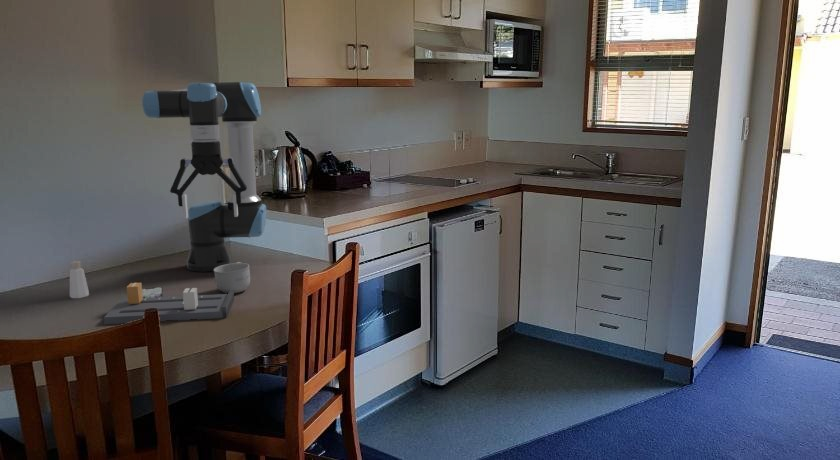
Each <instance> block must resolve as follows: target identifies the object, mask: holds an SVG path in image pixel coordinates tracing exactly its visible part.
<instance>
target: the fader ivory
mask: <svg viewBox="0 0 840 460" xmlns="http://www.w3.org/2000/svg"><path fill="white" fill-rule="evenodd" d="M197 295H198V288H197V287H187V288H184V290H183V292H182V296H183V301H184V310H192V309H196V308H197V306H198V296H197Z"/></svg>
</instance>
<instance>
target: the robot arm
mask: <svg viewBox="0 0 840 460" xmlns="http://www.w3.org/2000/svg"><path fill="white" fill-rule="evenodd" d="M258 91H259V90H258V88H257V87H256V85H255V84H254V83H252V82H244V81H237V82H235V81H233V82H231V81H229V82H228V81H227V82H226V81H225V82H223V81H222V82H213V81H212V82H190V83H188V84H187V86H186V87H184V88H183V89H172V90H170V89H169V90H146V91H144V93H143V94H142V99H141V100H142V101H141V103H142V110H143V113H144V115H145V116H146V117H148V118H151V119H152V118H156V119H165V118H166V119H167V118H168V119H171V118H173V119H174V118H189V131H190V140H192V142H191V143H190V145H191V157H192V158H191V159H187V158H182V159H180V161H179V162H180V163H179V169H178V171H177V174H176V176H175V178H174V180H173V183H172V185H171V188H170V190H169V192H170V193H171V194H175V195H176V196H177V200H178V207H182V213H183V219H185V220H186V219H187V221H188V229H189V230H188V231H189V240H190V248H189V252H188V257H187V261H186V267H187V270H189V271H191V272H198V273H200V272H203V273H205V272H206V273H207V272H214V269H215V268H216V267H218V266H221V265H225V264H231V263H232V259H231V256H230V253H229V252H228V249H227V246H226V243H225V239H231V238H248V239H250V238H258V237H261V236H262V235H263V233H264V231H265V227H266V224H267V223H266V222H267V205H266V204H264V203H262V199H261V197H260V196H259V195H258V194H257V182H256V179H257V178H256V177H257V176H256V161H255V160H256V159H255V146H254V145H255V144H254V126H255V125H256V124H257V122H258V118H259V117H261V116H262V106H261V100H260V99H261V98H260V95H259V92H258ZM219 118H221V121H222V124H224V125H225V126H226V128H227V130H226V131H227V143H228V144H227V145H228V158H223V157H222V152H221V151H222V150H221V142H220V141H219V139H220V137H221V136H220V124H219ZM223 164H225V166H226V167H228V168H229V175H230V176H228V175H227V173H226V172H225V171H224V170H223V169H222V168H221V167H222V165H223ZM190 165H191V166H192V167H193V169H194V170H193V172H191V174H190V175H189V177H188V178H187V179H186V180H185V182H183V184H182V185H181V187H180V188H179V185H180V183H181V181H182V178H183V176H184V174H185V171H186V169H187V168H188V167H189V166H190ZM199 174H200V175H201V176H206V175H209V176H210V175H211V176H213V175H216V174H217V176H219V177H220V178H221V179H222V180H223V181H224V182H225V183H226V184H227V185H228V186H229V187H230V190H231V191H230V192H231V193H230V194H231V195H230V197H229V198H228V199H227V200H226V201H227V204H226V205H225V204H224V205H223V202H222V200H210V201H205V202H204V201H203V202H200V203H196V204H193V205H191V206H189V208H188V195H187V193H184V192H185V191H186V190H187V189H188V188H189V186H191V184H192V183H193V182H194V180H195V178H196V177H198V175H199Z"/></svg>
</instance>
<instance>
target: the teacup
mask: <svg viewBox="0 0 840 460" xmlns="http://www.w3.org/2000/svg"><path fill="white" fill-rule="evenodd" d="M250 271H251V270H250V264H249V263H245V262H241V261H237V262H234V263H233V262H231V264H225V265H221V266H218V267H216V268H215V269H214V271H213V272H214V279H215V284H216V287H217V289H218V290H219V291H221V292H222V293H223V294H227V293H229V291H230V290H234V294H238V293H241V292H244V291H245V290H246V289H247V288H248V286H249V285H250V284H251V272H250Z"/></svg>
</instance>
